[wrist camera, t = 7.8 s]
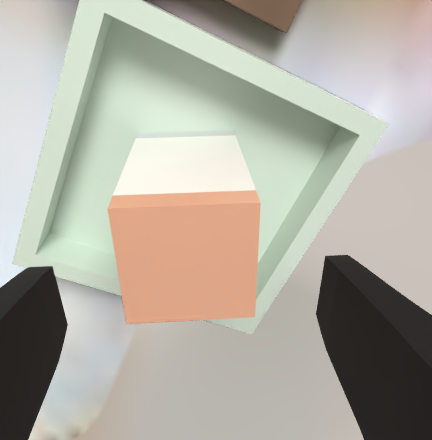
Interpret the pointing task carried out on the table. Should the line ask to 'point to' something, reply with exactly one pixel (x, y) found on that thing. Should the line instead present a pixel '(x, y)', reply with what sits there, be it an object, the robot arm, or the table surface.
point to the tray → (183, 121)
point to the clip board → (270, 11)
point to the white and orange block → (186, 228)
